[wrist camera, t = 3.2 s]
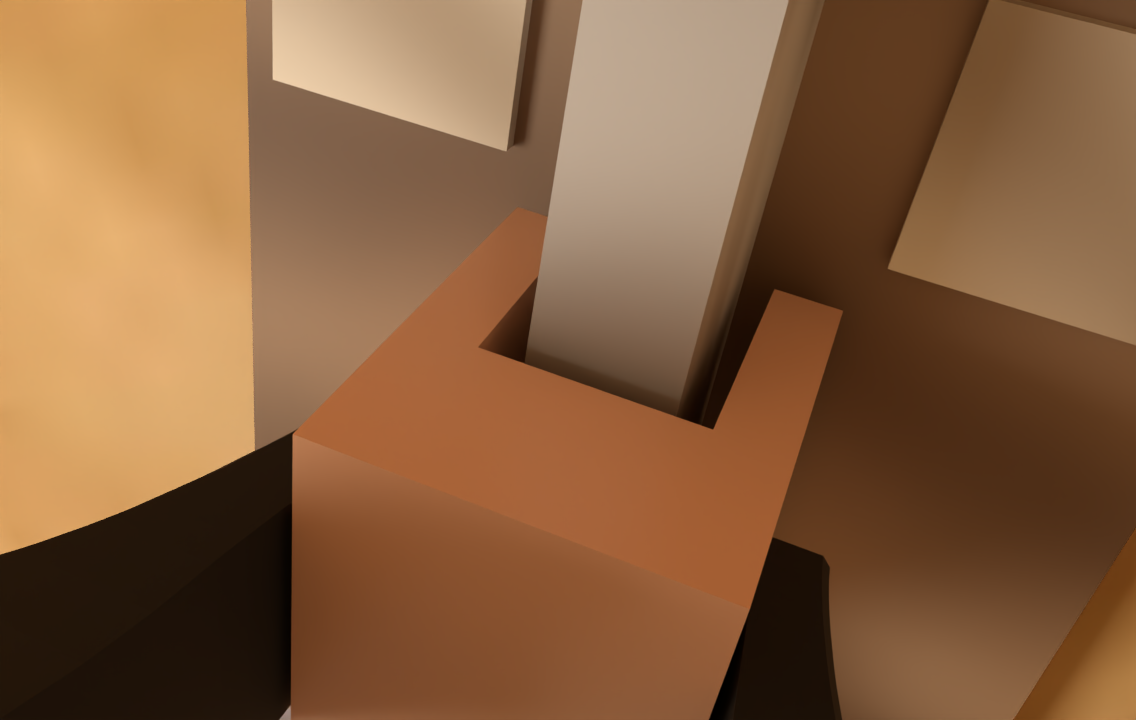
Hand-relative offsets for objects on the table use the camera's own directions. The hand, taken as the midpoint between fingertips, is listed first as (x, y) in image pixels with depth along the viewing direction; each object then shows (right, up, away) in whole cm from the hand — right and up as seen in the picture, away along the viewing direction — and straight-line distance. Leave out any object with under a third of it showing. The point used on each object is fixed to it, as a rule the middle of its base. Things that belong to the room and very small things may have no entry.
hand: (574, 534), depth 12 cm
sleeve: (+1, +1, +2) cm, 3 cm away
